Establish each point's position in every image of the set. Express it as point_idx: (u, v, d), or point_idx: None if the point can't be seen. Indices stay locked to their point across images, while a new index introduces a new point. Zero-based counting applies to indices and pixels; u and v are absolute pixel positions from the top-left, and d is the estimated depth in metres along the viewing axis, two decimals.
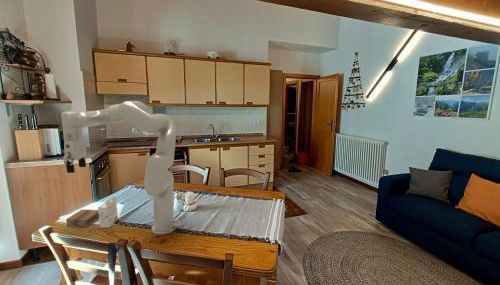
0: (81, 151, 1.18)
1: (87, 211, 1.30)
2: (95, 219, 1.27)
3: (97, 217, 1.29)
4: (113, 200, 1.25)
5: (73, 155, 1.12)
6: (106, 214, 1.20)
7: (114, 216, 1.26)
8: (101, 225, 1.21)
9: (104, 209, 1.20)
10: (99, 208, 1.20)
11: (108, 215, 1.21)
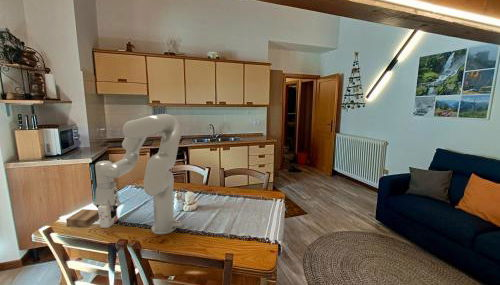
0: None
1: (88, 211, 1.30)
2: (95, 219, 1.27)
3: (97, 217, 1.29)
4: None
5: (118, 198, 1.25)
6: (106, 214, 1.20)
7: None
8: (101, 225, 1.21)
9: (104, 209, 1.20)
10: (99, 208, 1.20)
11: (108, 215, 1.21)
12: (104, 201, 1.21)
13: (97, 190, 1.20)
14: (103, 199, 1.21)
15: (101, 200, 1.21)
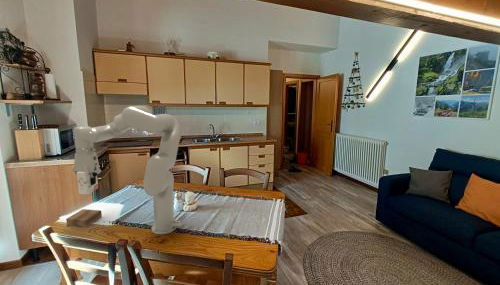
0: None
1: (88, 211, 1.30)
2: (95, 219, 1.27)
3: (97, 217, 1.29)
4: None
5: (98, 165, 1.23)
6: (85, 180, 1.18)
7: (94, 184, 1.24)
8: (80, 191, 1.19)
9: (83, 175, 1.17)
10: (78, 174, 1.17)
11: (87, 181, 1.19)
12: (83, 167, 1.19)
13: (76, 155, 1.18)
14: (82, 165, 1.18)
15: (80, 165, 1.18)
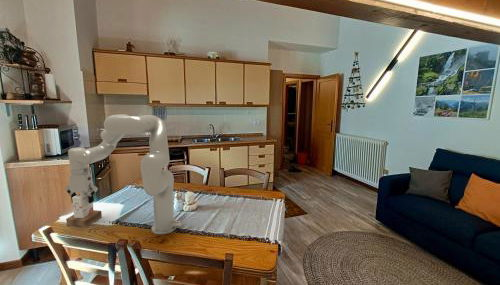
0: None
1: None
2: (94, 220, 1.27)
3: (97, 218, 1.28)
4: None
5: (93, 185, 1.25)
6: (80, 205, 1.21)
7: (89, 207, 1.27)
8: (75, 215, 1.22)
9: (78, 200, 1.20)
10: (73, 198, 1.20)
11: (83, 206, 1.22)
12: (78, 187, 1.21)
13: (71, 176, 1.20)
14: (77, 185, 1.21)
15: (74, 186, 1.21)
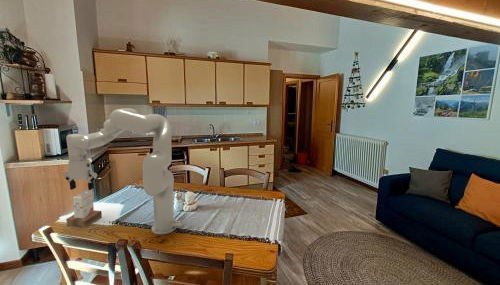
0: None
1: None
2: (94, 220, 1.27)
3: (97, 218, 1.28)
4: (89, 191, 1.26)
5: None
6: (81, 205, 1.21)
7: (89, 207, 1.27)
8: (75, 216, 1.22)
9: (79, 200, 1.20)
10: (74, 199, 1.20)
11: (83, 206, 1.22)
12: (77, 174, 1.20)
13: (69, 163, 1.19)
14: (76, 172, 1.19)
15: (73, 173, 1.20)
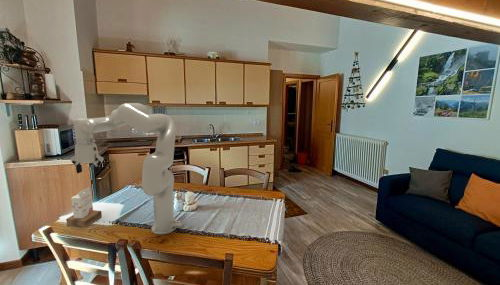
0: None
1: None
2: (94, 220, 1.27)
3: (97, 218, 1.28)
4: (87, 191, 1.26)
5: None
6: (79, 205, 1.21)
7: (88, 207, 1.27)
8: (75, 216, 1.22)
9: (77, 200, 1.20)
10: (72, 199, 1.20)
11: (82, 206, 1.22)
12: (84, 158, 1.22)
13: (76, 147, 1.21)
14: (82, 156, 1.22)
15: (80, 156, 1.22)
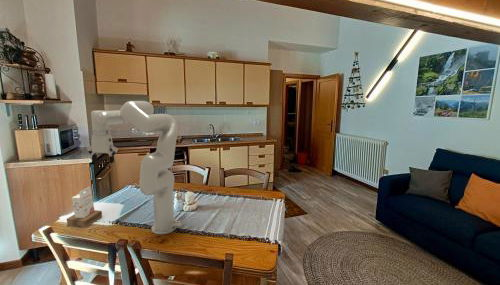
0: None
1: None
2: (95, 220, 1.27)
3: (97, 218, 1.28)
4: (88, 191, 1.26)
5: None
6: (80, 204, 1.21)
7: (89, 207, 1.27)
8: (76, 216, 1.22)
9: (78, 199, 1.20)
10: (73, 199, 1.20)
11: (83, 206, 1.22)
12: (99, 148, 1.29)
13: (93, 137, 1.28)
14: (98, 146, 1.29)
15: (96, 146, 1.29)
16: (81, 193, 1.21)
